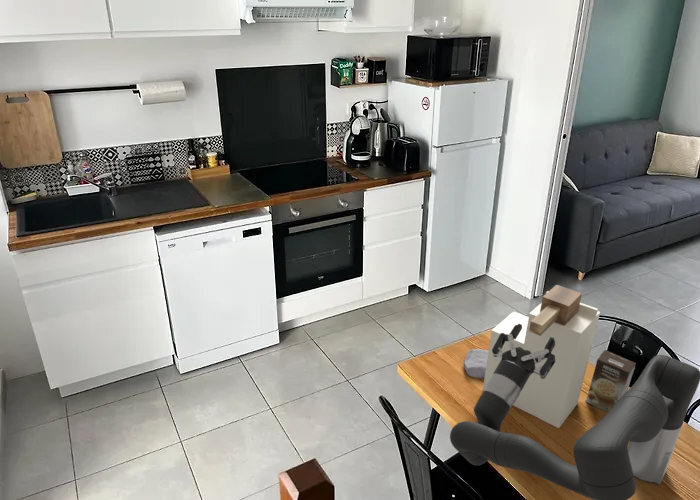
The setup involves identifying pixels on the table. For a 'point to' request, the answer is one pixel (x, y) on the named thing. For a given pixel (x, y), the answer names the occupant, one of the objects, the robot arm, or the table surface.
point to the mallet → (556, 309)
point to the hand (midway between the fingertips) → (536, 331)
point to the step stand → (568, 370)
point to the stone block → (476, 362)
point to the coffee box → (609, 380)
